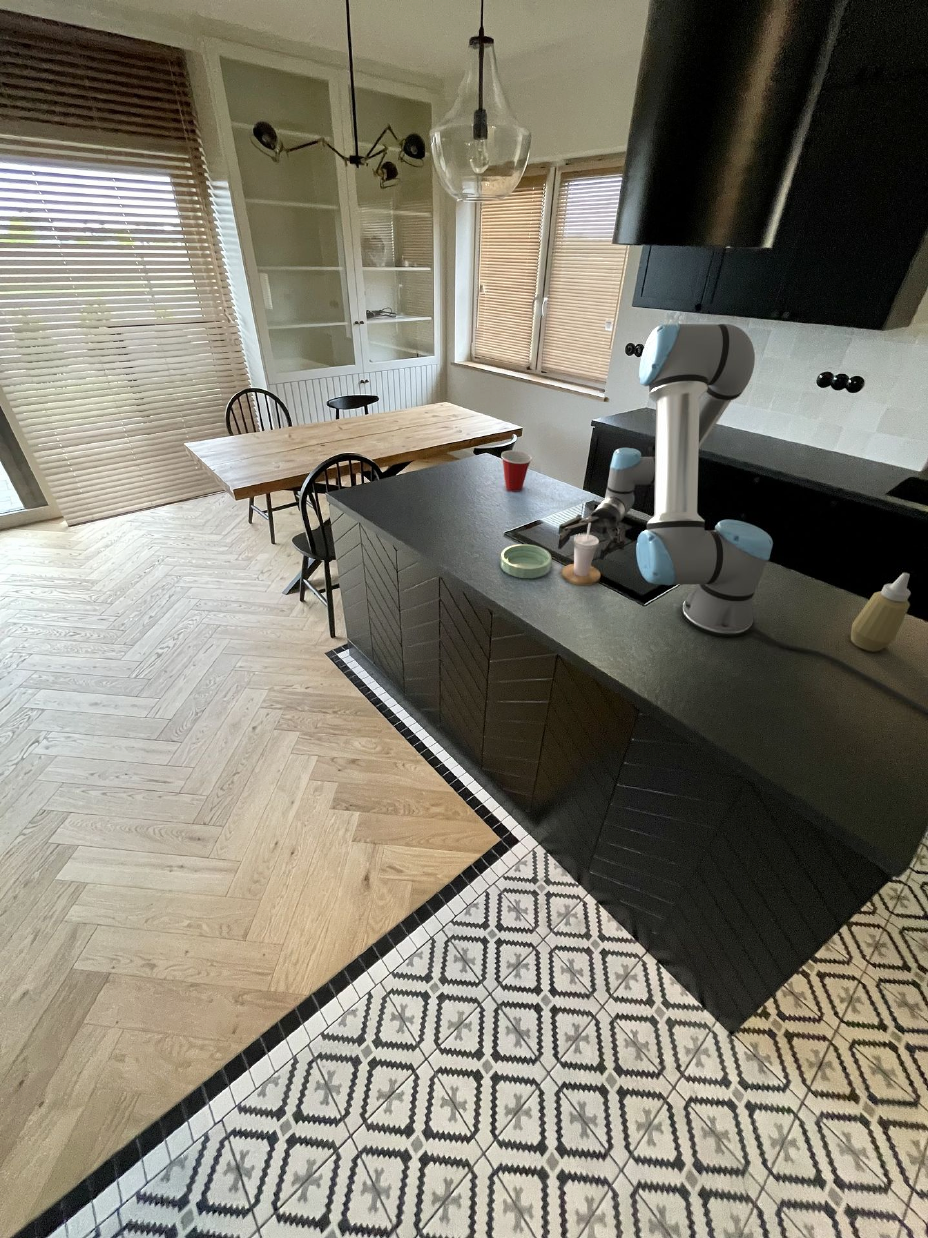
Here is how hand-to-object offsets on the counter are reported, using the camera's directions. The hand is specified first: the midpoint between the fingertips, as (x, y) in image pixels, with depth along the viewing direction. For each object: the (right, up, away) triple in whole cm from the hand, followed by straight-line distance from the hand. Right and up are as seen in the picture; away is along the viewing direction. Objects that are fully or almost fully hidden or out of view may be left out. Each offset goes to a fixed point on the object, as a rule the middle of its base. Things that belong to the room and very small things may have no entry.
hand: (580, 549), depth 131 cm
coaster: (+2, -6, +9) cm, 11 cm away
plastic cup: (-11, +29, +57) cm, 65 cm away
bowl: (-12, -3, +12) cm, 18 cm away
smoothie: (+2, -5, +9) cm, 10 cm away
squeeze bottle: (+60, -23, -14) cm, 66 cm away
